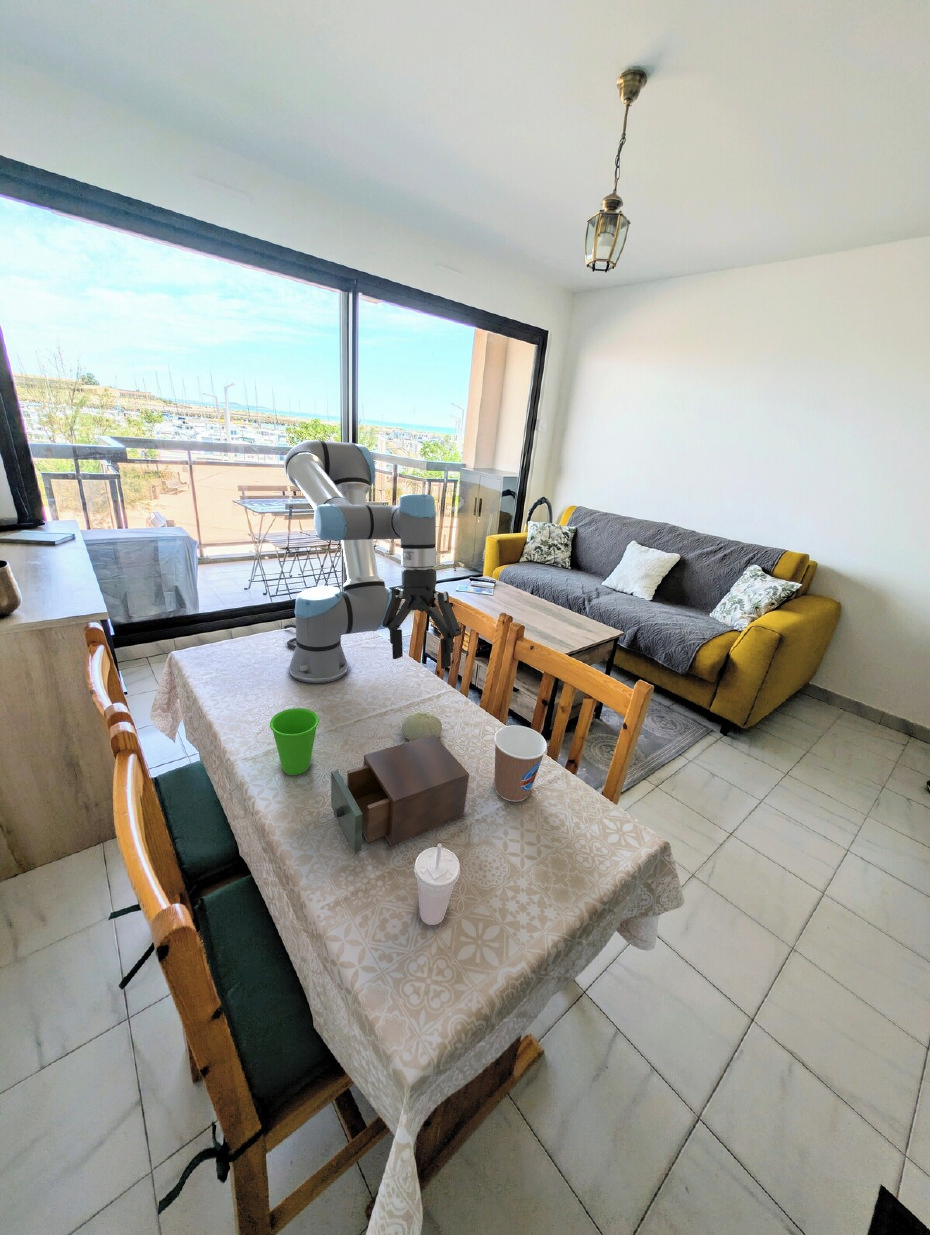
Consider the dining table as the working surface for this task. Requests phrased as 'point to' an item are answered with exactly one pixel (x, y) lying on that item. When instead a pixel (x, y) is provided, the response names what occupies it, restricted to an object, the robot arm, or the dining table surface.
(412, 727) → the sea urchin shell
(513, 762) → the coffee cup
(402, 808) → the cabinet
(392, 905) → the dining table surface
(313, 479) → the robot arm
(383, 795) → the drawer
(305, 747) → the cup
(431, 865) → the smoothie
